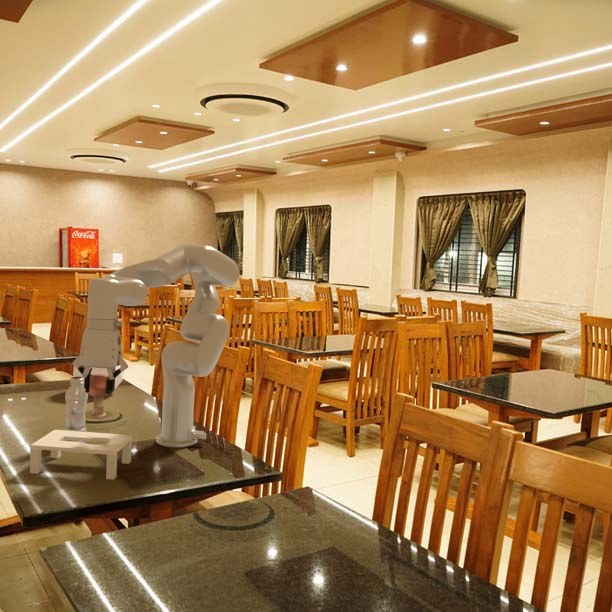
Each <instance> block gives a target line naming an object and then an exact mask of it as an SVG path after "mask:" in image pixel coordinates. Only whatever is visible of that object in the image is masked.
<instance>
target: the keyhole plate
mask: <svg viewBox="0 0 612 612" xmlns="http://www.w3.org/2000/svg"><path fill="white" fill-rule="evenodd" d="M65 440H73V441H84V442H72V441H65ZM86 442H87V443H86ZM88 442H89V443H88ZM90 442H91V444H90ZM92 442H105V444H92ZM132 445H133V435H131V434H119V433H118V434H117V433H108V432H107V433H106V432H105V433H104V432H90V431H86V432H80V431H66V430H64V429H53V430H52V431H50V432H49V433H47V434H45V435H43V437H41V438H40V439H38V440H36V441H35V442H33V443H32V444H30V448H29V449H30V454H29V456H30V457H29V474H32V475H33V474H35V475H38V474H39V473H41V472H42V453H43V452H42V451H50V458H51V459H60V457H62V452H65V453H66V452H68V453H69V452H70V453H79V454H80V453H82V454H94V455H106V471H105V473H106V474H105V480H115V479H116V478H117V471H118V470H117V469H118V452H120V451H121V464H130V463H131V462H132V450H133V449H132V447H133V446H132Z"/></svg>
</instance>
